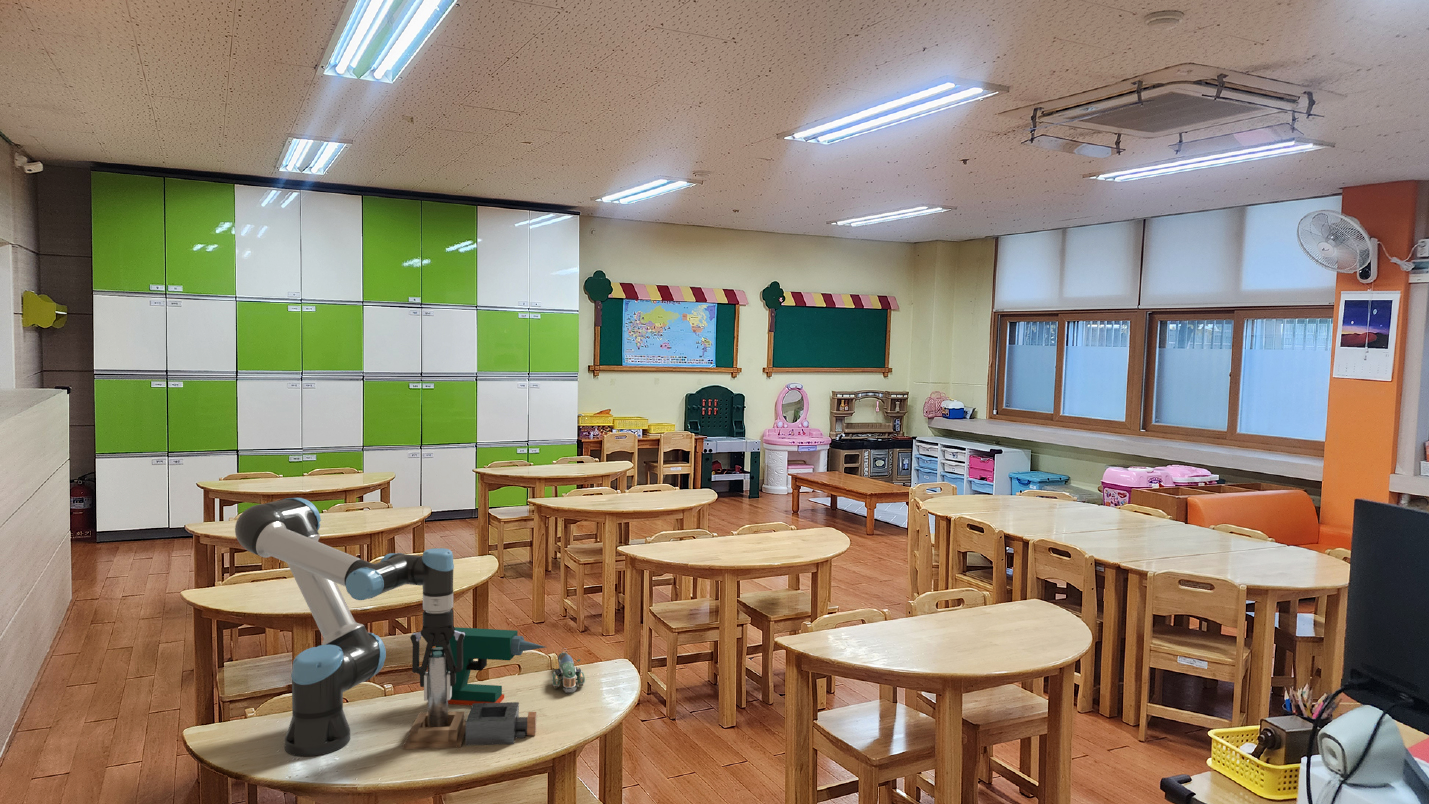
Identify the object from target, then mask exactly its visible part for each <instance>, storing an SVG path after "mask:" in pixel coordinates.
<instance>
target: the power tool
mask: <svg viewBox="0 0 1429 804" xmlns="http://www.w3.org/2000/svg"><path fill="white" fill-rule="evenodd" d="M454 628H455V631H459V632H462V631H464V632H465V636H464V639H463V669H462V671H461V672H457V673H456V683H455V685H454V686H452V696H451V699H450V700H448V705H460V706H461V705H462V706H472V705H473V703H502V701H503V700H504V699H505V694H504V693H503V685H495V684H480V683H479V684H477V683H468V682H469V678H470V675H471V671H478V672H479V671H480V672H481V671H483V670H484V669H485V668H486V667H487V666H488V660H493V661H494V660H495V661H509V662H510V661H511V660H512V659H513V658H514V657H515V656H522V655H523V652H525V651H532V650H537V649H538V650H539V649H544V648H546V646H544V645H541V644H537V643H533V642H531V641H527V640H525V638H524V636H523V635H518V633H519V632H518V631H519V630H513V629H512V630H511V629H497V628H496V629H495V628H494V629H493V628H474V627H473V628H472V627H461V626H460V627H456V626H454ZM449 642H450V647H451V651H452V655H453V658H454V662H455V666H457V640H456V639H455V636H454V635H453V636H452V638H451V639H450V640H449ZM436 647H442V646H435V648H436ZM474 659H476V660H474ZM448 672H449V668H448Z"/></svg>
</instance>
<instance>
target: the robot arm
mask: <svg viewBox="0 0 1429 804" xmlns="http://www.w3.org/2000/svg"><path fill="white" fill-rule="evenodd" d="M321 521H322V519H321V514H320V512H319V510H318V508H317V507H316V506H315V504H314V503H312V502H311V501H309V500H308V499H305V498H303V497H287V498H283V499H280V500H276V501H271V502H267V503H259V504H255V505H252V506H250V507H248V508H247V509H245V510H244V511H243V512H241V514H240V515H239V517H238V518H237V520H236V523H235V527H234V533H235V537H236V540H237V541H238V543H239V545H241V547H243V549H245V550H246V551H248V552H250V553H252V554H254V555H256V556H259V557H261V558H265V559H266V558H270V557H272V558H275V559H277V560H280V561H282V562H285V563H287V566H288V568H289V570H290V572H291V573H292V576H293V578H294V580H295V582H296V584H297V587H298V588H299V590H300V592H301V594H302V597H303V598H304V600H305V603H306V605H307V607H308V609H309V611H310V612H311V615H312V617H313V619H314V621H315V624H316V626H317V628H318V629H319V632H320V634H321V636H322V637H323V639H322V640H323V641H322V643H321V645H318V646H312V647H309V648H307V649H305V650H302V651H301V652H300V653H298V654H297V655H296V656H295V658H294V659H293V661H292V667H291V668H292V670H291V702H292V703H291V704H292V707H291V709H292V710H291V711H292V713H291V715H292V717H291V719H290V723H289V725H288V728H287V731H286V734H285V738H284V749H285V752H286V753H288V754H290V755H293V756H298V757H315V756H321V755H324V754H329V753H332V752H335V751H338V750H340V749H341V748H343V747H345V746H347V744H348V743H350V740H351V728H350V725H349V722H348V720H347V717H346V714H345V712H344V697H343V696H344V694H343V693H345V692H346V691H349V690H350V689H353V688H354V687H356V686H358V685H360V684H362V683H364V682H368V680H371V679H372V678H373V677H374V676H376V675H377V674H379V673H380V672H381V671H382V669H383V667H384V664H385V661H386V656H387V652H386V651H387V650H386V647H385V644H384V642H383V640H382V639H381V637H380V636H379V635H376V634H375V633H373V632H368V630H367V629H366V627H365V625H364V623H363V624H362V623H358V622H357V621H356V620H355V618H354V616H353V615H352V612H351V610H350V608H349V606H348V603H347V601H346V600H345V598H344V595H343V594H342V592H341V589H340V588H339V586H338V585H340V586H343V587H345V589H346V592H347V594H349V596H351V597H350V598H352V599H354V600H356V601H364V600H369V599H373V598H375V597H377V596H379V595H382V594H384V593H387V592H389V591H392V590H394V589H397V588H400V587H402V586H404V585H405V586H406V585H410V586H422V610H424V611H423V612H422V629H421V630H420V631H417V632H416V631H415V632H412V634H411V635H410V637H409V638H410V641H411V644H412V659H411V661H412V662H411V663H412V665H411V667H412V671H411V672H412V673H413V674H418V675H419V686H420V687H421V688H423V701H424V702H425V701H426V702H428V657H429V656H430V654H431V653H432V649H433V648H434V647H436V646H442V648H443V650H444V653H445V657H446V660H447V664H448V668H449V672H448V674H447V700H450V699H451V696H452V686H454V685H455V683H456V673H457V672H461V671H462V669H463V639H464V636H465V632H464V631H462V632H459V631H455V628H454V627H455V626H454V609H453V608H454V569H455V563H454V554H453V551H452V550H450V549H449V548H442V547H440V548H438V547H437V548H436V547H435V548H429V549H428V548H427V549H426V550H424V551H423V553H422V555H415V554H408V553H407V554H406V553H401V552H396V553H387V554H385V555H384V556H383V558H381V560H380V561H379V562H376V563H373V562H369V561H367V560H364V559H362V558H359V557H357V556H355V555H352V554H350V553H347V552H344V551H342V550H340V549H337V548H334V547H332V546H329V545H327V544H325V543H322V542H320V541H319V540H320V538H321V535H320V533H319V530H320V527H321ZM453 635H454V636H455V639H456V640H457V666H455V662H454V658H453V655H452V651H451V647H450V642H449V640H450V639H451V638H452V636H453ZM422 638H423V639H424V640H425V642H426V646H425V651H424V655H423V657H422V659H423V660H422V662H421V666H420V641H421V639H422Z"/></svg>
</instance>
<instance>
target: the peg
mask: <svg viewBox="0 0 1429 804" xmlns="http://www.w3.org/2000/svg"><path fill="white" fill-rule="evenodd" d="M427 672H428V700H427V712H428V726H429V727H443V726H445V725H447V724H448V712H449V704H448V700H447V674H448V664H447V660H446V657H445V653H444V650H443V648H442V647H436V646H435V647H432V651H431V654H430V656H429V657H428V666H427Z"/></svg>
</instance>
